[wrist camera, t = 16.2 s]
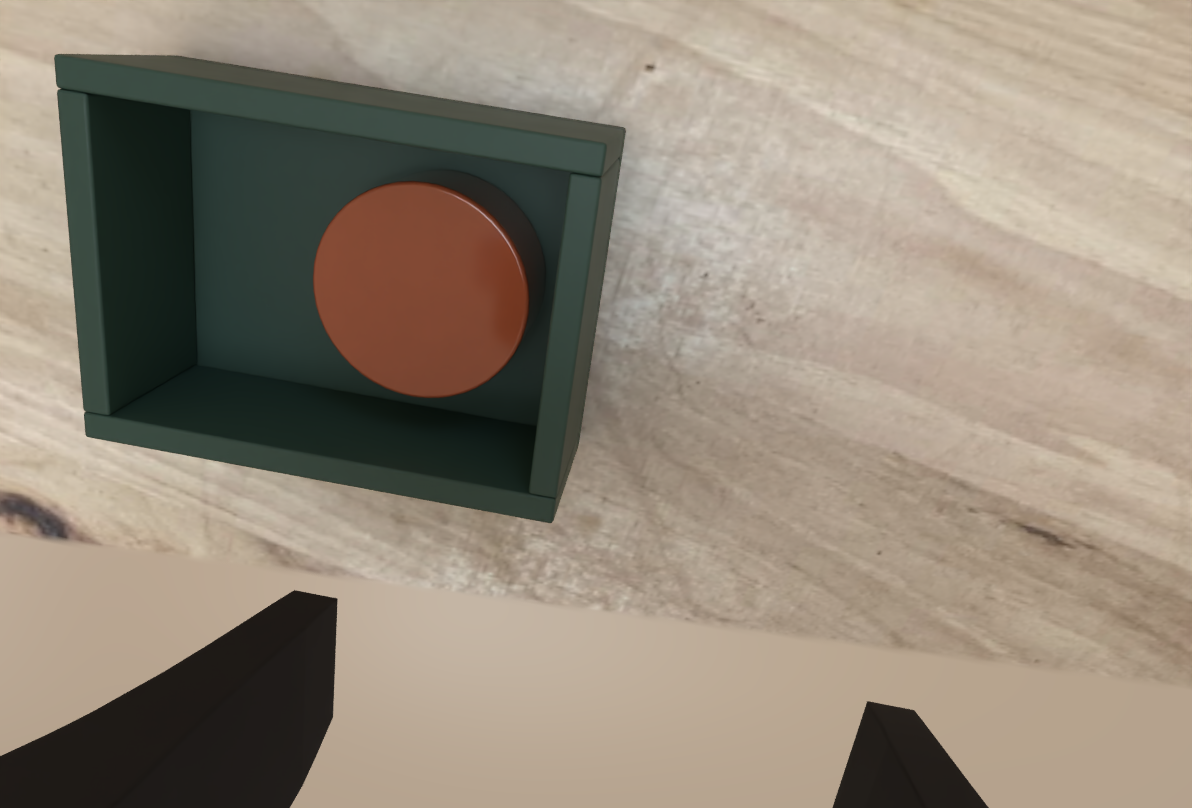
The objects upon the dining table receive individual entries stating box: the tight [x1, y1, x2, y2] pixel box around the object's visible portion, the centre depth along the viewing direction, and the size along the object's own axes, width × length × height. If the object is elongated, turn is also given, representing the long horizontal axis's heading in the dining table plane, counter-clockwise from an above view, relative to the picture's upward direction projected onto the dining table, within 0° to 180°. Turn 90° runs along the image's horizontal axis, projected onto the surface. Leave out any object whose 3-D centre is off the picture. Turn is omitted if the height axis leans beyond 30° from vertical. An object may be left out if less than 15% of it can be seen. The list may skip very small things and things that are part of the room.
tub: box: [54, 54, 626, 523], centre depth 19 cm, size 8×10×4 cm
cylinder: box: [313, 169, 546, 398], centre depth 19 cm, size 5×5×2 cm
